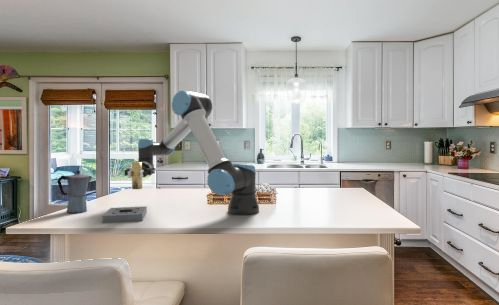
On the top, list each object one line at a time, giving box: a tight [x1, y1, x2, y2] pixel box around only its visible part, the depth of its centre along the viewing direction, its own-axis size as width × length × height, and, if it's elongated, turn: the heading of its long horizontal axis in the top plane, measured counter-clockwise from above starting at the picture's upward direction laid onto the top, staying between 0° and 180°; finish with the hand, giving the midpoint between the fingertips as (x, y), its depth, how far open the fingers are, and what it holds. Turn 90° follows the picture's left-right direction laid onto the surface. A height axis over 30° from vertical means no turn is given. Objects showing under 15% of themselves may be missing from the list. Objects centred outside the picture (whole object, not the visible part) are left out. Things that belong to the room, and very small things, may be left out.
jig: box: [102, 206, 148, 224], centre depth 144 cm, size 16×16×3 cm
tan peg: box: [131, 161, 143, 190], centre depth 146 cm, size 4×4×12 cm
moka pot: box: [57, 170, 93, 214], centre depth 155 cm, size 10×15×20 cm, turn 137°
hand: (134, 174), depth 140 cm, fingers closed on tan peg, 4 cm apart
